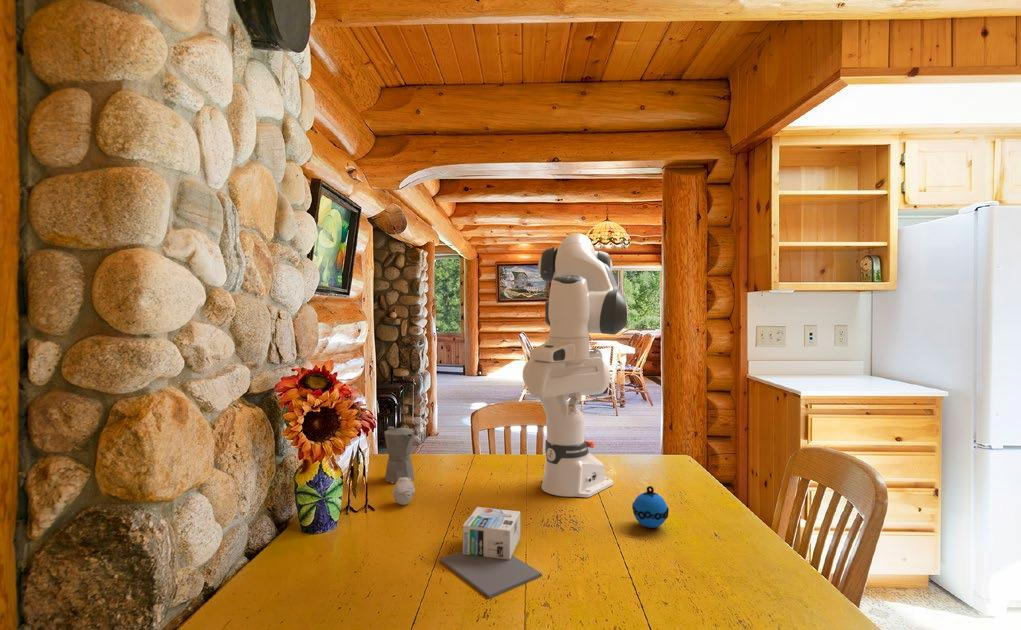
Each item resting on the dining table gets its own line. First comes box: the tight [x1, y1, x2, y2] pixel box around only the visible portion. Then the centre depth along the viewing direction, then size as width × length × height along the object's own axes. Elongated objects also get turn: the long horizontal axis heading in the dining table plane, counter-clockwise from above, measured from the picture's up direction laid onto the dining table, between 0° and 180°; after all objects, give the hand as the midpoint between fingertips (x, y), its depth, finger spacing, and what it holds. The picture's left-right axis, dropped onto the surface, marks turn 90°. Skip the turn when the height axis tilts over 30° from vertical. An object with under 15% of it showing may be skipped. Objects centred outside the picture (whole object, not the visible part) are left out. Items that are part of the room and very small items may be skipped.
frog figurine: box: [392, 477, 416, 506], centre depth 145 cm, size 6×7×7 cm
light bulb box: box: [461, 506, 521, 560], centre depth 119 cm, size 11×7×11 cm
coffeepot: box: [382, 421, 415, 483], centre depth 166 cm, size 15×9×18 cm, turn 44°
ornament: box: [631, 485, 670, 529], centre depth 130 cm, size 9×9×10 cm
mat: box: [439, 550, 543, 599], centre depth 110 cm, size 13×18×1 cm
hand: (568, 413), depth 115 cm, fingers closed
